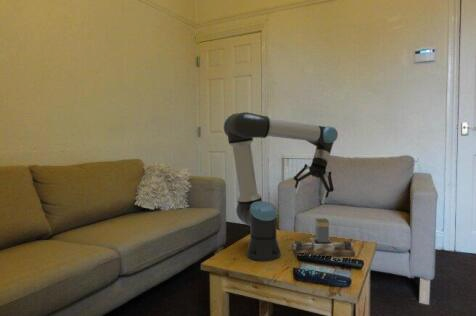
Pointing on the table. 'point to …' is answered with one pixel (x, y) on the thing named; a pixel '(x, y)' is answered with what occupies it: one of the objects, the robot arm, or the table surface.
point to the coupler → (322, 231)
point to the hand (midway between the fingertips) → (308, 198)
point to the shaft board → (324, 248)
